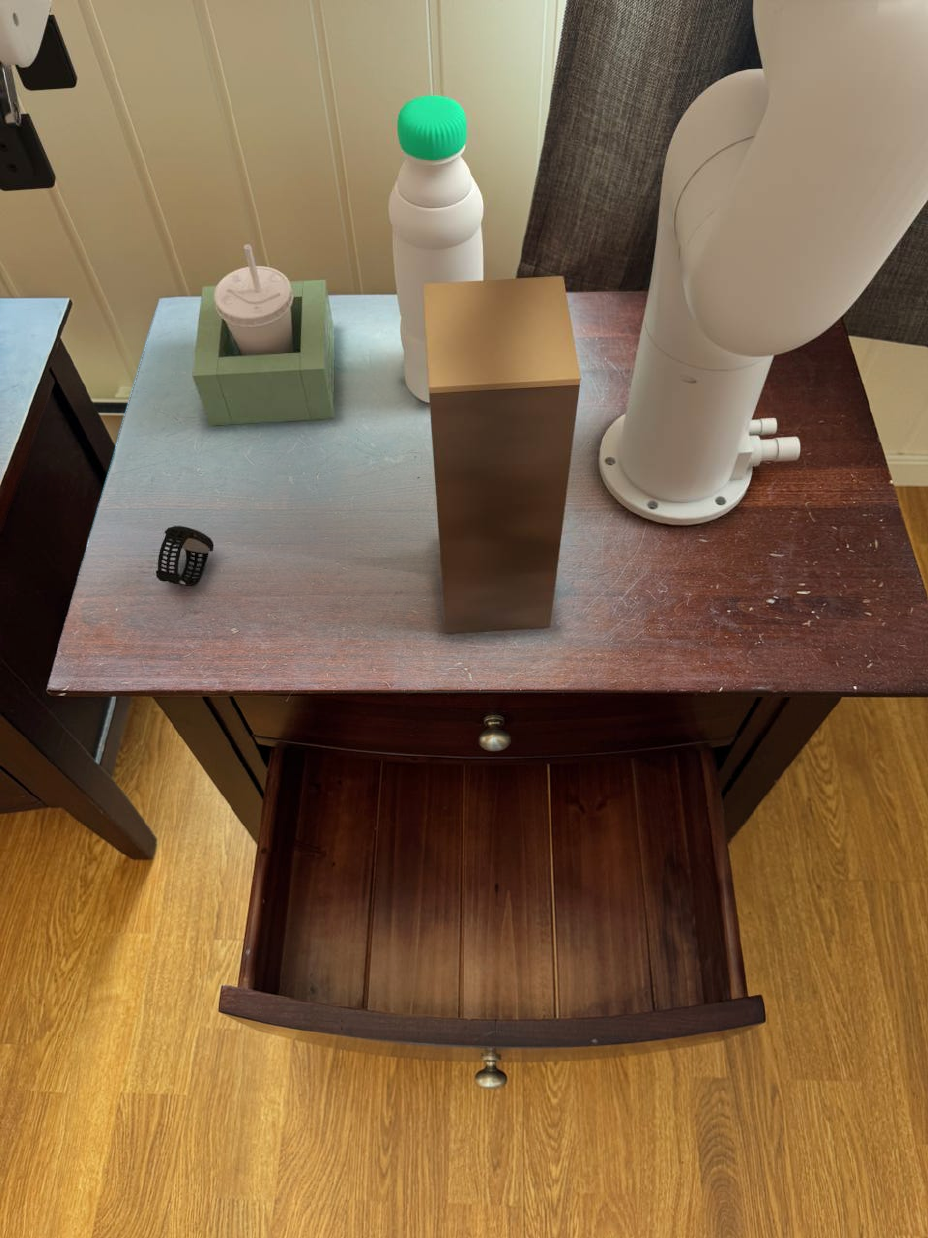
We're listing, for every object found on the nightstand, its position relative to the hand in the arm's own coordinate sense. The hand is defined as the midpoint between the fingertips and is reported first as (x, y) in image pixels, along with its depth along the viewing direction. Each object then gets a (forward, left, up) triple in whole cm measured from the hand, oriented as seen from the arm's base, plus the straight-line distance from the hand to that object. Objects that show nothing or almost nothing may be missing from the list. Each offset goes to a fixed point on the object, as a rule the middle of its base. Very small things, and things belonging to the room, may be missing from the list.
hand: (41, 134), depth 56 cm
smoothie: (-8, -9, -30) cm, 32 cm away
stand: (-8, -9, -29) cm, 32 cm away
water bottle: (-23, -8, -30) cm, 38 cm away
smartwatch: (-2, +12, -30) cm, 32 cm away
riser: (-26, +15, -29) cm, 42 cm away
